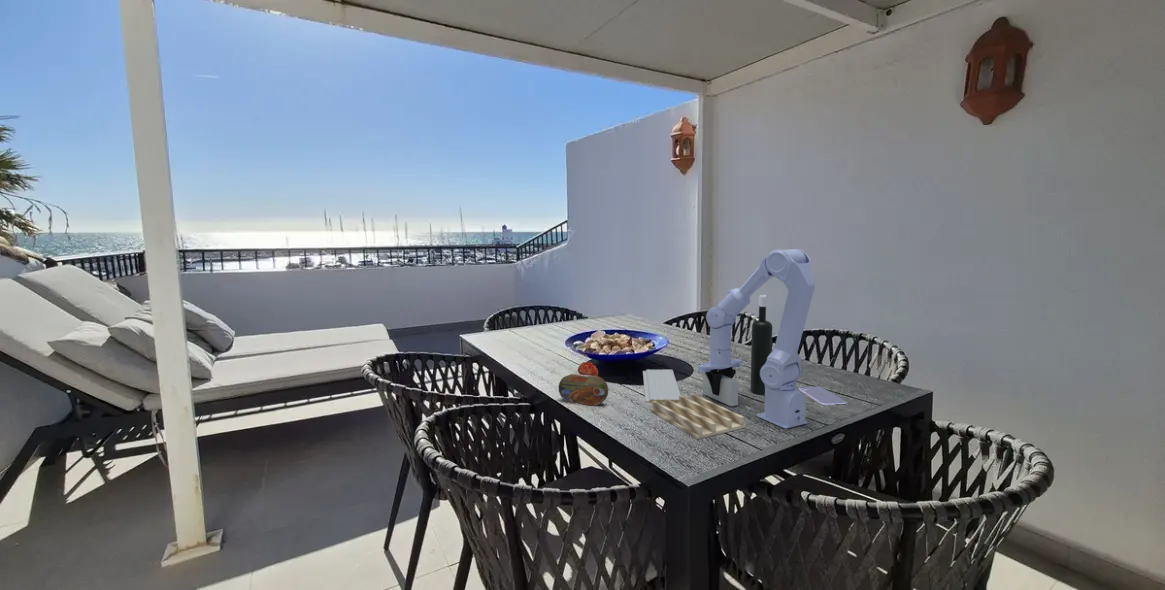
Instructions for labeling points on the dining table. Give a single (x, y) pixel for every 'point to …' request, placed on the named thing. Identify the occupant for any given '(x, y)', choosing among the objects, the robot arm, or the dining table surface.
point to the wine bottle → (760, 347)
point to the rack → (698, 416)
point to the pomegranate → (588, 369)
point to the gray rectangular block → (723, 390)
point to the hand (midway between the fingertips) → (719, 393)
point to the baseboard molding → (660, 385)
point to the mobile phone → (822, 395)
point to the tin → (583, 389)
